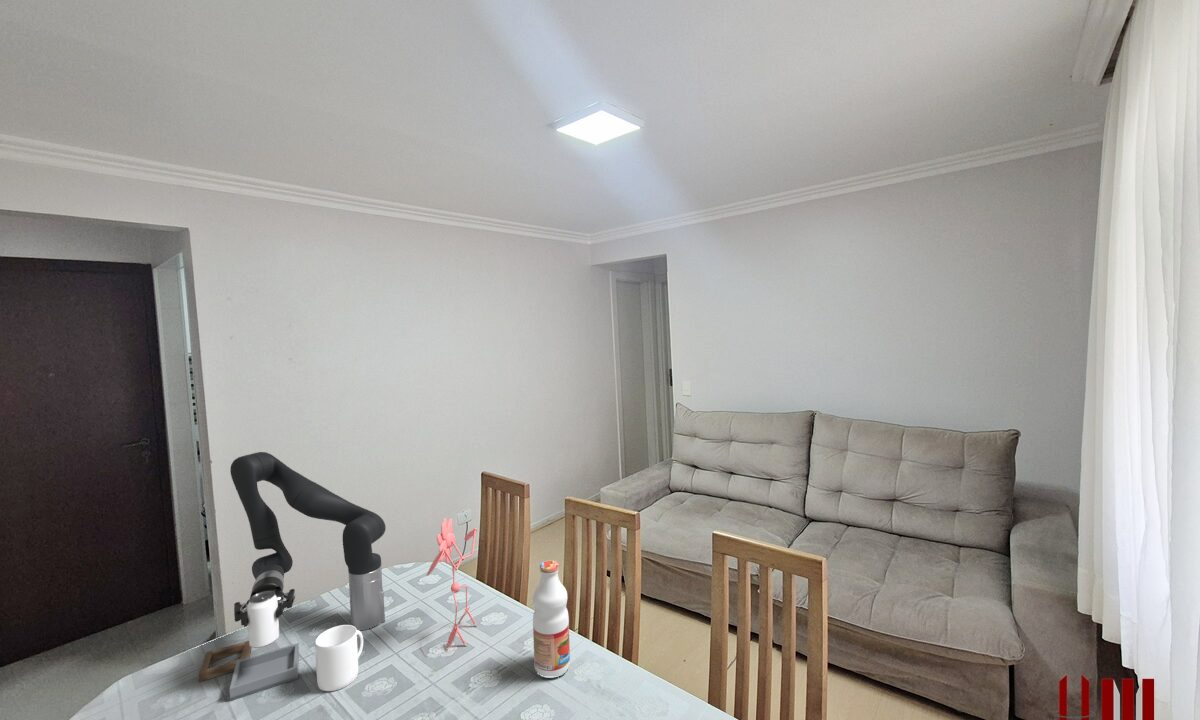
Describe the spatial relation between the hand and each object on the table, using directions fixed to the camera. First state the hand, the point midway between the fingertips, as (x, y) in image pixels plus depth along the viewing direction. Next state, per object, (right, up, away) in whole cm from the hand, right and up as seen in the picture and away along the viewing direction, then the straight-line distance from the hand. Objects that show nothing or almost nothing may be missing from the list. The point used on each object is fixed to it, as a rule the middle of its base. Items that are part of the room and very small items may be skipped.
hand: (262, 618), depth 123 cm
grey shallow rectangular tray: (-1, -16, +3) cm, 17 cm away
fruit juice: (+75, -15, +3) cm, 76 cm away
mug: (+20, -16, +2) cm, 26 cm away
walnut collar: (-15, -17, +8) cm, 24 cm away
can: (-1, -7, +2) cm, 8 cm away
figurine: (+43, -15, +18) cm, 49 cm away
